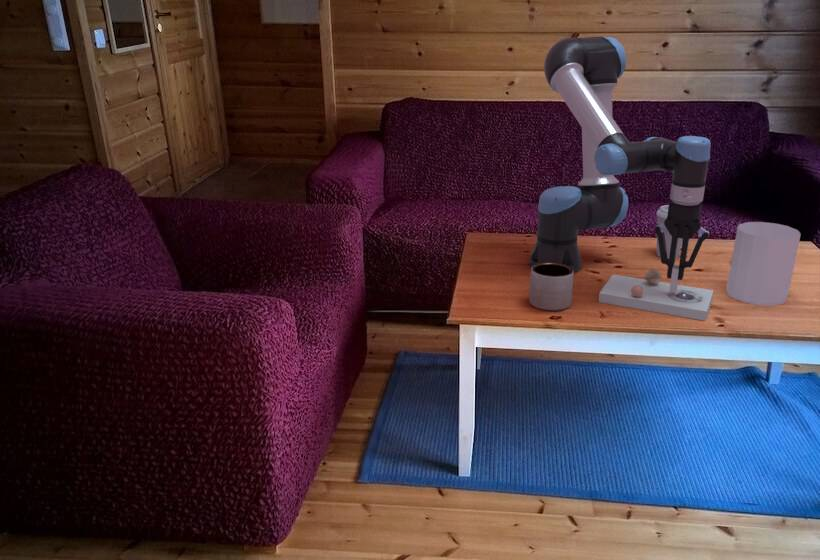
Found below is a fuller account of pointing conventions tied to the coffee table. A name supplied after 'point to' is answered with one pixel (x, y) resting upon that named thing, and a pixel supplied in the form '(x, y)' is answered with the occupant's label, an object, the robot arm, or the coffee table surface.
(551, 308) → the planter
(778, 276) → the container
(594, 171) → the robot arm
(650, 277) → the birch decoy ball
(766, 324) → the coffee table surface
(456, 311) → the coffee table surface
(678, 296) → the steel ball
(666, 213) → the coffee cup
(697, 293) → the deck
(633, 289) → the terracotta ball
